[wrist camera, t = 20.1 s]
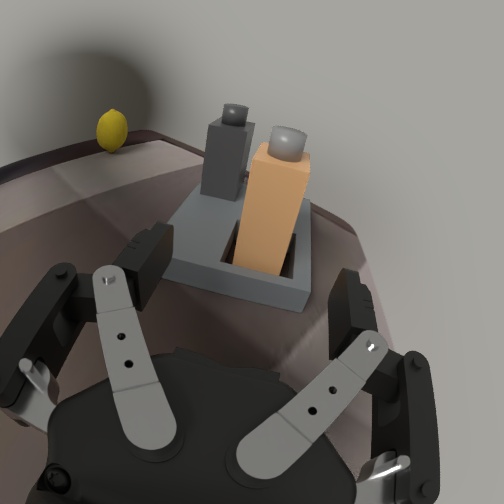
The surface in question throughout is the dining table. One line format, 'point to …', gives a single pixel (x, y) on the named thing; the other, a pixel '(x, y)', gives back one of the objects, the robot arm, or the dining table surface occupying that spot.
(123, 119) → the lemon
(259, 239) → the plug
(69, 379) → the dining table surface
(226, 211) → the gray post stand
